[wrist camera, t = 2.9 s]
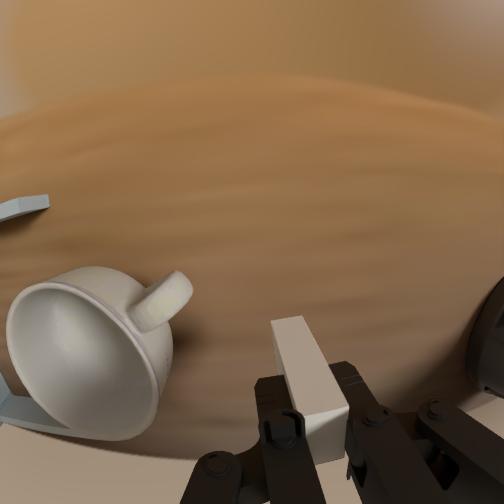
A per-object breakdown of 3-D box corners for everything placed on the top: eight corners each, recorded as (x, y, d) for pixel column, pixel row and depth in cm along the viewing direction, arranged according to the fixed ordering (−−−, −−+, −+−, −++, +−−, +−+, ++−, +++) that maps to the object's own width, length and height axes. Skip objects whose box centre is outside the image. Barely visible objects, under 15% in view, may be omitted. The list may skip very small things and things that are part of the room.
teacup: (104, 389, 23) (71, 449, 15) (37, 285, 21) (-22, 322, 13) (243, 337, 22) (249, 406, 15) (174, 204, 20) (139, 217, 12)
